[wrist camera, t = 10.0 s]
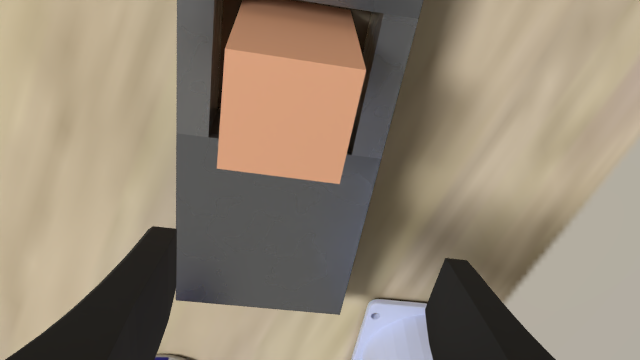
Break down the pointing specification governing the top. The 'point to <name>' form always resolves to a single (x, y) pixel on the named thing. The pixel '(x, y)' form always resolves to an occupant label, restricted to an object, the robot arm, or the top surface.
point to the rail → (276, 178)
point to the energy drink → (168, 357)
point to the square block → (290, 90)
